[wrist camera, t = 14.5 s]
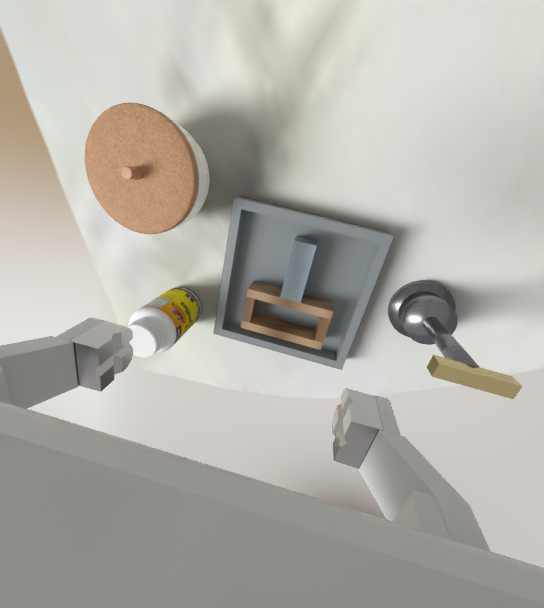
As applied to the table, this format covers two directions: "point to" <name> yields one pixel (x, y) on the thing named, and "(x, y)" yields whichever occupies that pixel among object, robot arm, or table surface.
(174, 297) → the supplement bottle
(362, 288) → the tray
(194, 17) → the table surface
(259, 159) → the table surface
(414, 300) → the plunger
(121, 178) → the lidded jar
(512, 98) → the table surface
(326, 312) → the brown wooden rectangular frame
